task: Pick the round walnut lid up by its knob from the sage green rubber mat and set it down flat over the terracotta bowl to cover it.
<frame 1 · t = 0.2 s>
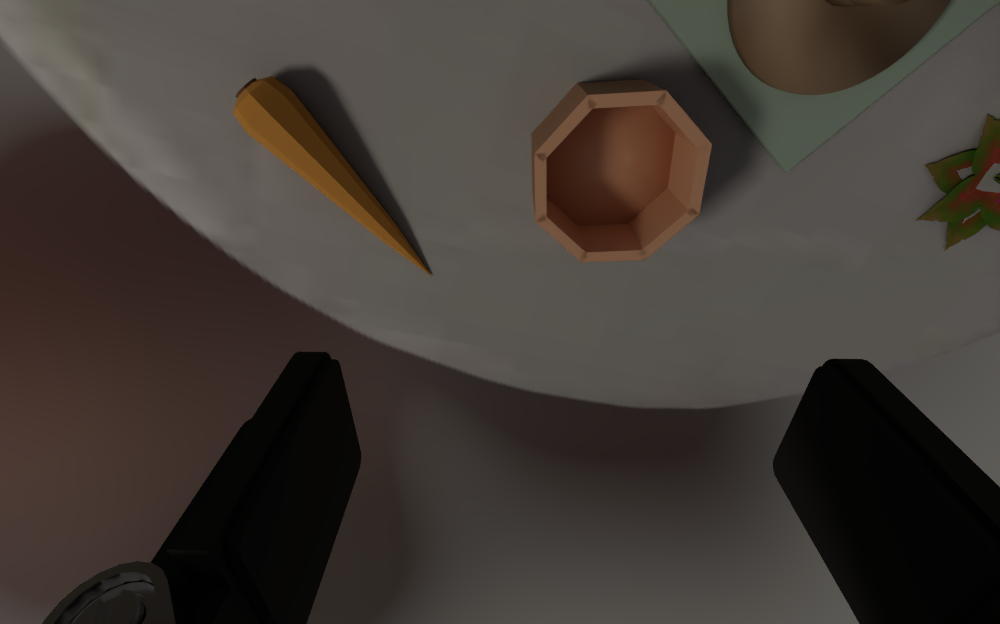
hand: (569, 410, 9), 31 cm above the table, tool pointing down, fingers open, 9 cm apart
lily flower: (989, 175, 37), on the table
carrot: (353, 190, 39), on the table
bowl: (604, 161, 37), on the table
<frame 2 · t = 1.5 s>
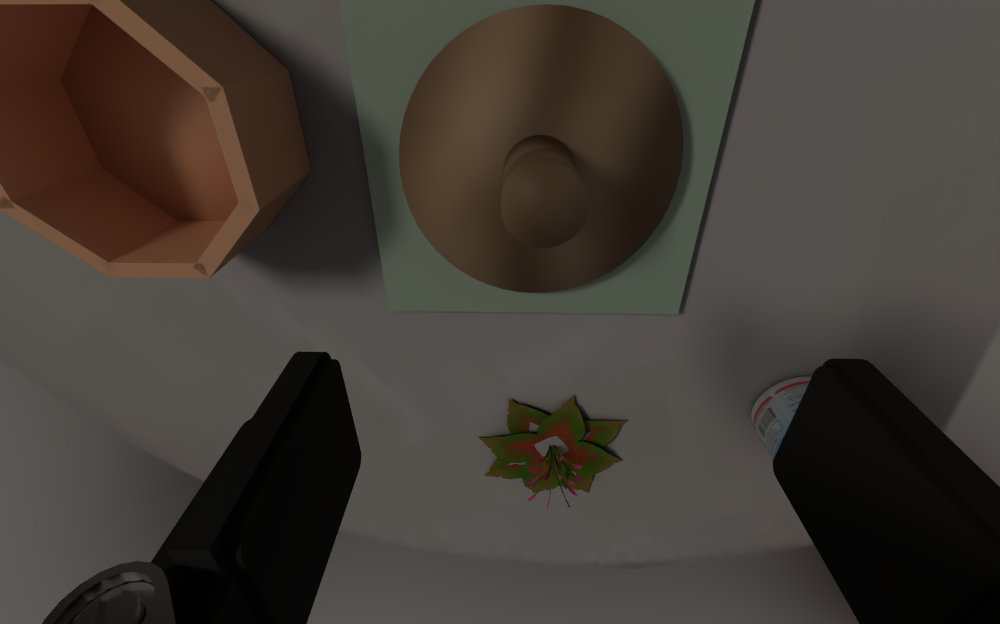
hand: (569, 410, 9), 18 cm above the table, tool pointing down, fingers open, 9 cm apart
lily flower: (551, 440, 37), on the table
bowl: (189, 123, 24), on the table
pill bottle: (791, 402, 33), on the table
lid: (538, 166, 24), point 1 cm above the table, touching mat
mat: (537, 163, 24), on the table
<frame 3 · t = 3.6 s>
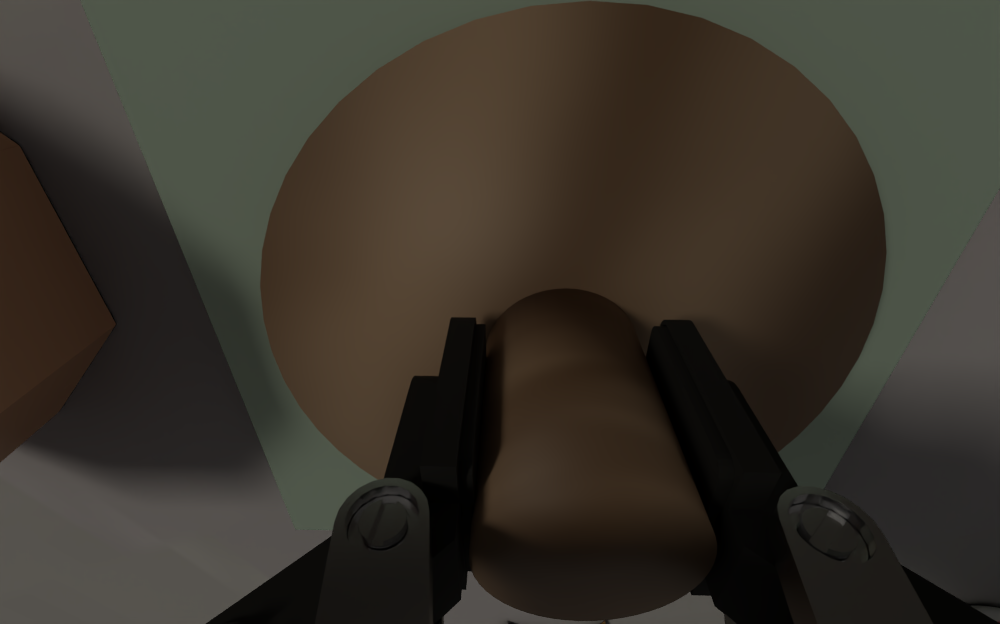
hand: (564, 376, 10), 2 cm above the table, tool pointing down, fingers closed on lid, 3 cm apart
lid: (557, 330, 12), point 1 cm above the table, touching gripper, mat
mat: (555, 317, 12), on the table
when the fingers open (9 cm above the table, at t = 9.1 s): lid drops 1 cm, resting on bowl.
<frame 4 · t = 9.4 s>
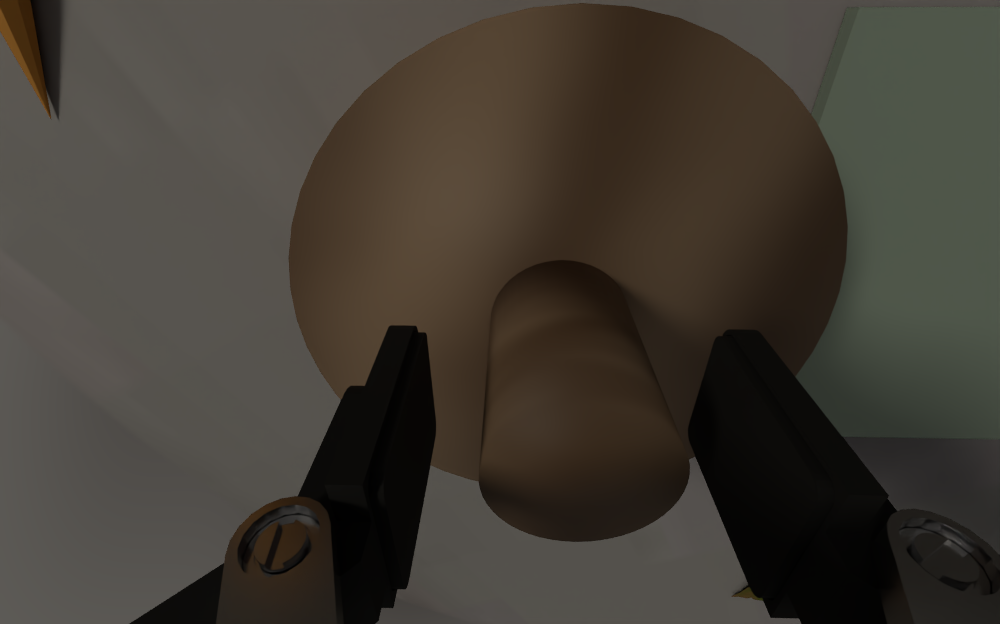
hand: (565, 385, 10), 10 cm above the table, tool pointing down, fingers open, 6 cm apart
lid: (555, 302, 13), point 6 cm above the table, touching bowl
mat: (983, 271, 19), on the table
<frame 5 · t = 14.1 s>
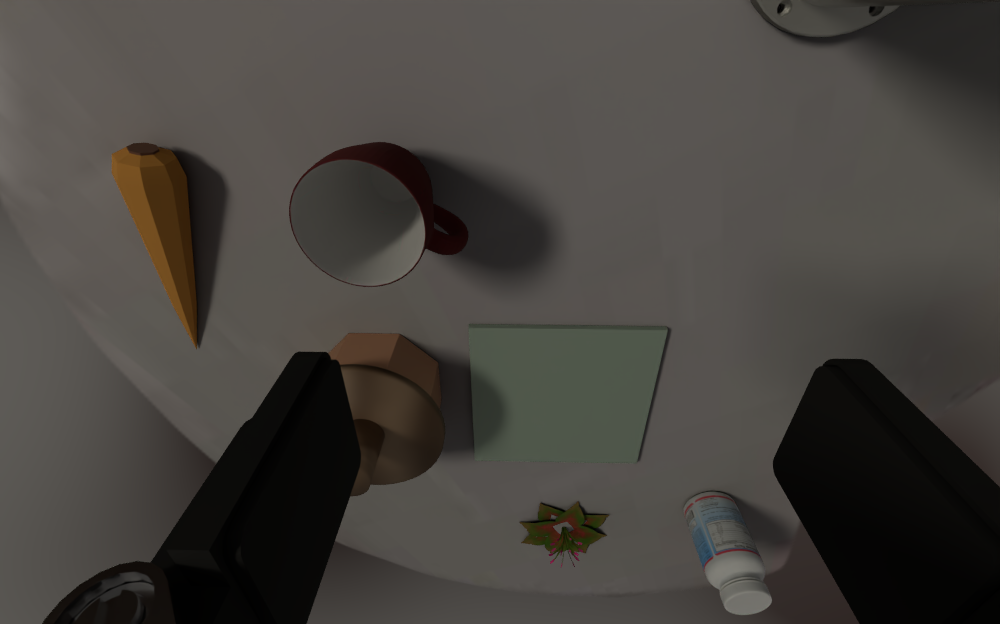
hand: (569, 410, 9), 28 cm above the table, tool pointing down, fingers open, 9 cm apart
lily flower: (563, 523, 60), on the table
carrot: (180, 255, 40), on the table
bowl: (382, 380, 46), on the table
pill bottle: (707, 503, 56), on the table
mug: (411, 182, 36), on the table
lid: (367, 425, 41), point 6 cm above the table, touching bowl
mat: (560, 398, 47), on the table
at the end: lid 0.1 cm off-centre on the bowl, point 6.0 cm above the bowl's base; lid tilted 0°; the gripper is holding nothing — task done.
